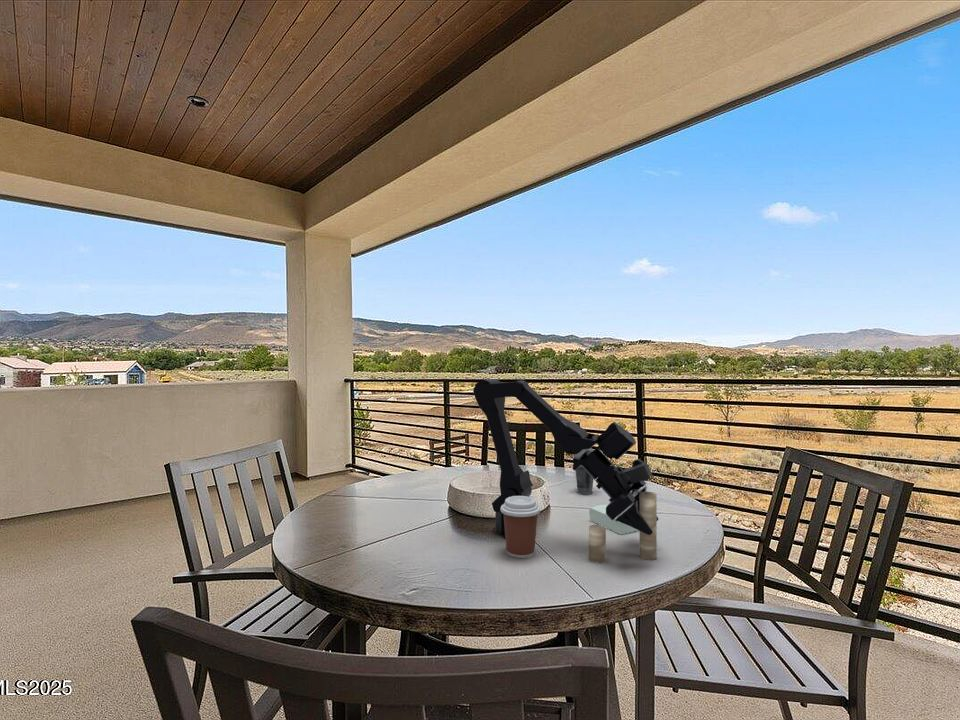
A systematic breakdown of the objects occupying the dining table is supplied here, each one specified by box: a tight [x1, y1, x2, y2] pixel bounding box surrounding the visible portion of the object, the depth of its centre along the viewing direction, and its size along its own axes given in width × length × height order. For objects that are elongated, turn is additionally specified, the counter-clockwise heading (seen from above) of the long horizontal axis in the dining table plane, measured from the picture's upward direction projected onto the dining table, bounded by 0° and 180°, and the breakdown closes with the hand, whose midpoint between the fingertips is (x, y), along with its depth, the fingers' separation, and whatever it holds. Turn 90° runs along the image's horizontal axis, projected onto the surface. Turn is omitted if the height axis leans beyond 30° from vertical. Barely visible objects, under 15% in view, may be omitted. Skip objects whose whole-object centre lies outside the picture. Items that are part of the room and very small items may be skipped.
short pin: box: [588, 524, 607, 564], centre depth 109 cm, size 4×4×7 cm
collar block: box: [589, 504, 639, 535], centre depth 132 cm, size 12×12×4 cm
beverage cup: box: [573, 447, 594, 496], centre depth 161 cm, size 7×7×20 cm
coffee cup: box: [500, 496, 541, 559], centre depth 113 cm, size 9×9×12 cm
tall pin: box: [639, 491, 658, 561], centre depth 110 cm, size 4×4×14 cm
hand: (654, 527), depth 110 cm, fingers open, 9 cm apart
